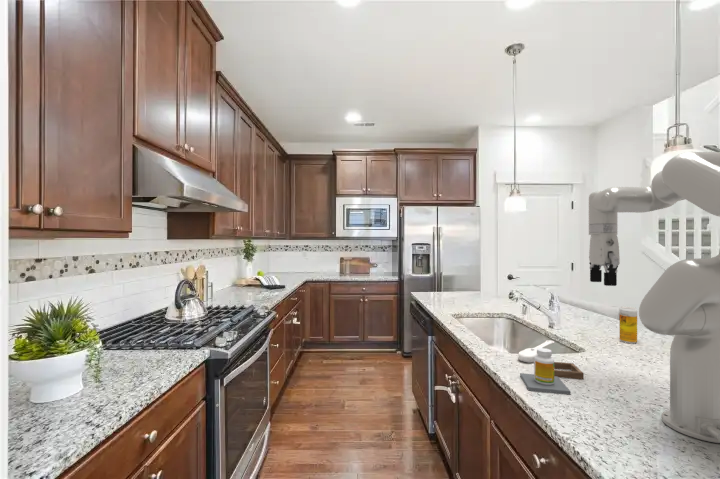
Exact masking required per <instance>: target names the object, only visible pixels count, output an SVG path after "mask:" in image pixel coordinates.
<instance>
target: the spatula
mask: <svg viewBox="0 0 720 479" xmlns="http://www.w3.org/2000/svg"><path fill="white" fill-rule="evenodd" d="M554 343H555V341H553V340H548V339H547V340H545V341H544V342H542V343H541V344H539V345H537V346H534V347H531V348H530V347H528V348H524V349H523V350H520V351H519V352H518V356H517V357H518V360H519V361H520V362H523V363H534V358H535V356H536V355H538V354H537V348H546V347H547V346H549V345H552V344H554Z"/></svg>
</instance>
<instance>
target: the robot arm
mask: <svg viewBox="0 0 720 479" xmlns="http://www.w3.org/2000/svg"><path fill="white" fill-rule="evenodd" d="M684 200H686V201H687V202H689V203H691V204H693V205H695V206H696V207H698V208H699V209H701V210H703V211H704V212H707V213H709V214H710V215H713V216H716V217H719V218H720V151H688V152H683V153H679V154H677V155H675V156H673V157H672V158H670V159H668V161H667V162H666V163H665V164H664V165H663V167H662V170H661V171H659V172H657V173H656V174H655V175H654V176H653V178H652V179H651V185H648V186H643V187H642V186H612V187H608V188H606V189H603V190H600V191H598V190H597V191H594V192H591V193H590V194H589V196H588V236H590V239H589V252H588V253H589V254H588V255H589V256H588V258H589V270H590V271H589V277H590V278H589V282H590V283H601V282H602V280H603V285H604V286H606V287H608V286H609V287H610V286H611V287H612V286H613V287H616V286H617V284H618V283H617V281H618V280H617V278H618V276H617V273H618V267H619V266H620V262H621V259H620V246H619V244H620V243H619V237H618V226H619V225H618V213H637V214H638V213H640V214H641V213H648V212H649V213H650V212H654V211H659V210H662V209H663V210H664V209H667V208H670V207H672V206H674V205H675V204H676V203H678V202H680V201H684ZM602 267H603V268H604V272H603V273H602V269H601V268H602ZM602 274H603V275H602ZM602 276H603V278H602ZM638 317H639V320H640V321H641V324H642V325H643V326H644V327H645V328H646V329H647V330H649V331H650V332H652V333H655V334H658V335H664V336H674V337H673V338H672V342H671V345H670V351H669V410H666V411H662V413H661V421H662V422H663V423H664V424H665V425H666V426H667V427H669V428H671V429H673V431H676V432H679V433H681V434H683V435H685V436H688V437H691V438H694V439H696V440H697V439H698V440H701V441H705V442H709V443H715V444H720V253H719V254H717V255H715V256H714V257H712V256H711V257H709V258H698V257H697V258H687V259H682V260H679V261H677V262H675V263H672V264H670V266H669V267H667V268H666V269H665V270H664V272H662V274H661V275H660V276H659V278H657V280H656V281H655V282H654V284H653V285H652V287H651V288H650V289H649V290H648V292H647V293H646V294H645V295H644V297H643V298H642V300H641V302H640V304H639V307H638Z"/></svg>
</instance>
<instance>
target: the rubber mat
mask: <svg viewBox="0 0 720 479" xmlns="http://www.w3.org/2000/svg"><path fill="white" fill-rule="evenodd" d="M519 376H520V379H521V380H522V382H523V384H524V385H525V387H526V389H527V390H528V391H529V392H539V393H547V394H549V393H550V394H559V395H566V396H567V395H570V396H571V390H570V389H569V388H568V387H567V385H566V384H565V383H564V382H563V381H562V379H560V377H558V376H554V384H553V385H544V384H540V383H538V382H536V381H535V379H534V373H524V372H523V373H521V372H520V373H519Z"/></svg>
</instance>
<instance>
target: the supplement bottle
mask: <svg viewBox="0 0 720 479" xmlns="http://www.w3.org/2000/svg"><path fill="white" fill-rule="evenodd" d="M537 354H538V355H536V356H535V358H534V362H533V363H534V366H533V369H534V370H533V372H534V373H533V374H534V379H535V381H536V382H538V383H540V384H544V385H553V384H554V370H555V369H554V362H555V359H554V357H552V355H553V353H552V349H549V348H546V347H543V348H537Z"/></svg>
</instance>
